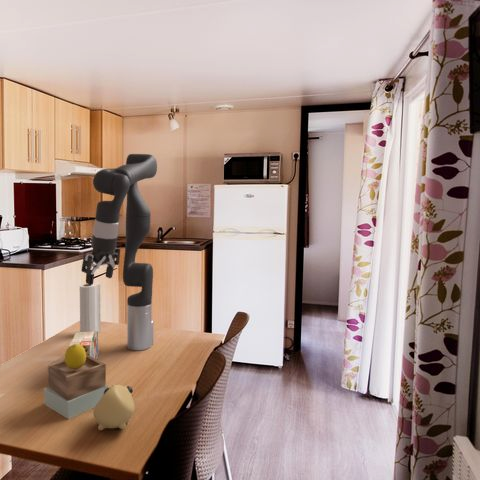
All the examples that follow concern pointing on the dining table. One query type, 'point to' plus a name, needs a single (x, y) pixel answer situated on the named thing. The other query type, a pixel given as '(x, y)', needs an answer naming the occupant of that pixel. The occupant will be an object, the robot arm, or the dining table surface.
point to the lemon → (75, 356)
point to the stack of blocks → (87, 342)
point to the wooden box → (76, 378)
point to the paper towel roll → (90, 308)
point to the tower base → (72, 402)
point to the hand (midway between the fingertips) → (99, 280)
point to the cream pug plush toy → (115, 407)
